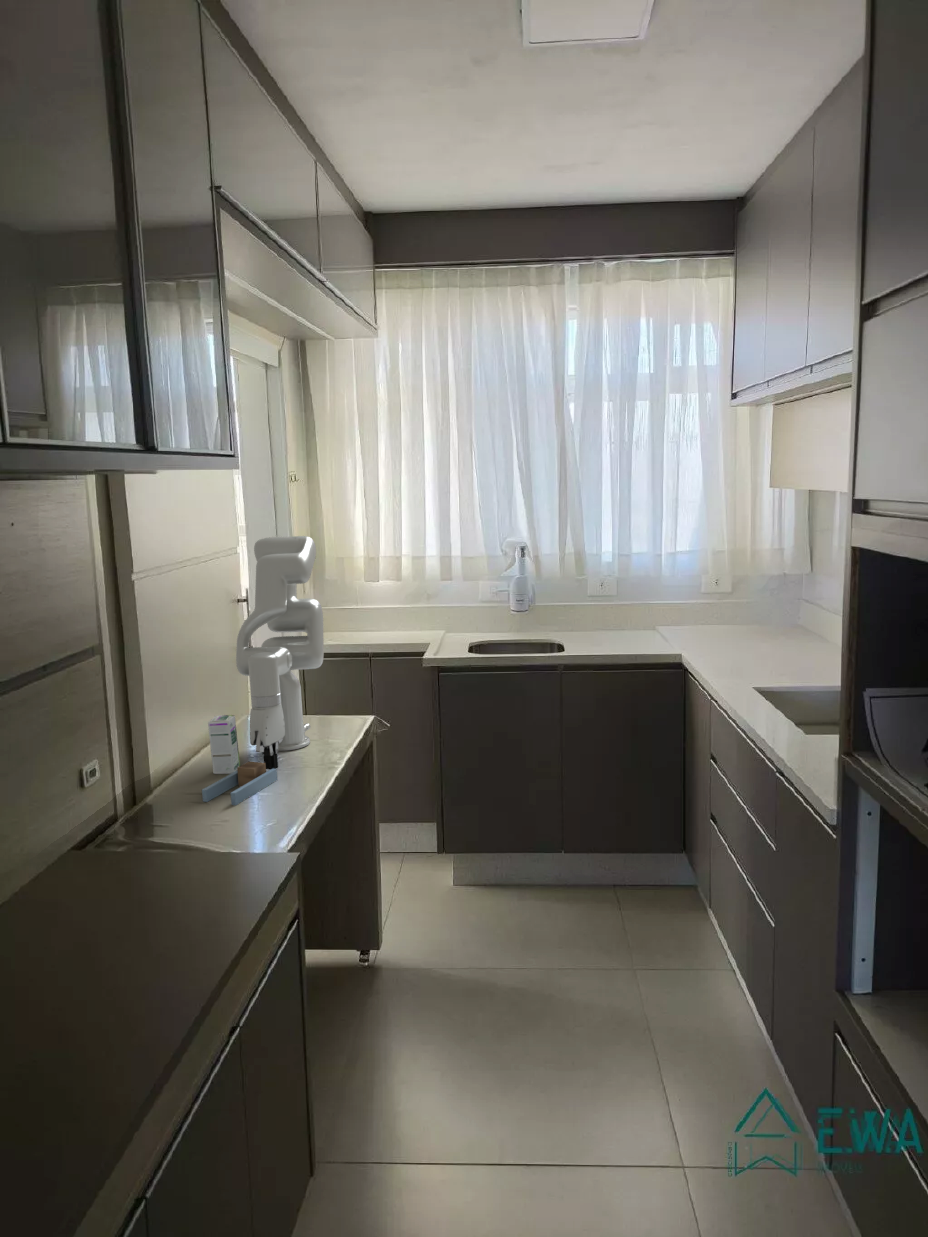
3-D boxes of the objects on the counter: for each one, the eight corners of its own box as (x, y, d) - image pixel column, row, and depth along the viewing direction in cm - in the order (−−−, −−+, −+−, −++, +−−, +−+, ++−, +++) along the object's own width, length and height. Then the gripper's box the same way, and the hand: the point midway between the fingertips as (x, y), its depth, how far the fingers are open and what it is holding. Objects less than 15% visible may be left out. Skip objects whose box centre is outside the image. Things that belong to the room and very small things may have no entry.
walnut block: (250, 780, 230) (248, 761, 229) (266, 781, 228) (265, 763, 228) (238, 786, 226) (237, 767, 225) (255, 788, 224) (254, 769, 223)
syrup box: (234, 773, 235) (230, 720, 233) (212, 774, 235) (207, 721, 233) (240, 766, 241) (236, 714, 238) (218, 767, 241) (214, 715, 239)
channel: (246, 776, 232) (245, 765, 232) (277, 780, 229) (276, 768, 229) (202, 801, 216) (201, 789, 215) (235, 805, 212) (234, 793, 212)
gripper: (269, 692, 240) (274, 758, 243) (236, 707, 226) (242, 776, 229) (294, 694, 237) (298, 760, 240) (262, 708, 223) (267, 779, 226)
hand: (271, 768), depth 235 cm, fingers closed
